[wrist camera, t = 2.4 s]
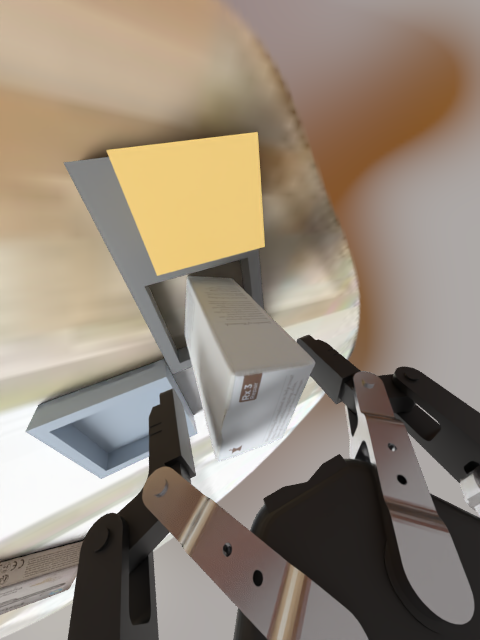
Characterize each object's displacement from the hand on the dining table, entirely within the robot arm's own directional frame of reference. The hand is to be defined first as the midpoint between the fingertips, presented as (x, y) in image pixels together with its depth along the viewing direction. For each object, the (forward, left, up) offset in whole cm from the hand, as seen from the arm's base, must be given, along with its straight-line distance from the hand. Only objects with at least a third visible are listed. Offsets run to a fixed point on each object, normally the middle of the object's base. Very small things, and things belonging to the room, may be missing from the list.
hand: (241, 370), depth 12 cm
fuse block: (-2, 0, -9) cm, 9 cm away
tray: (+10, -11, -9) cm, 17 cm away
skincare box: (0, 0, -9) cm, 9 cm away
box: (+33, -38, -9) cm, 51 cm away
